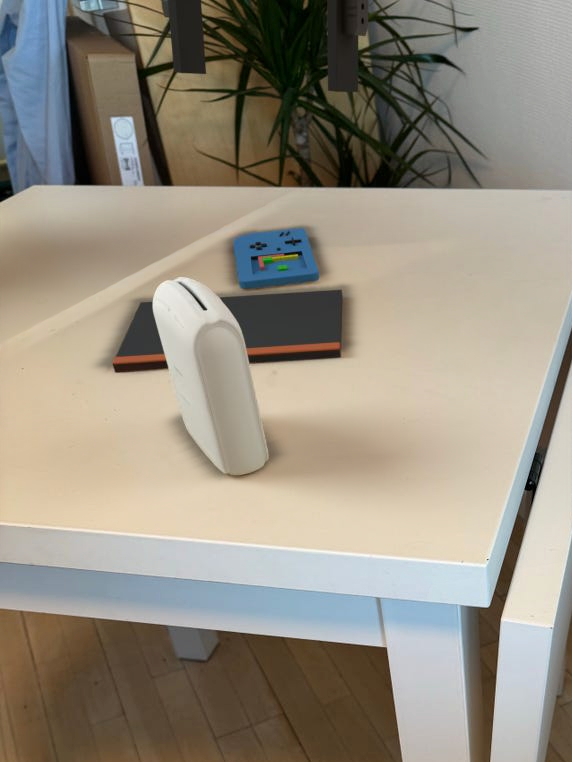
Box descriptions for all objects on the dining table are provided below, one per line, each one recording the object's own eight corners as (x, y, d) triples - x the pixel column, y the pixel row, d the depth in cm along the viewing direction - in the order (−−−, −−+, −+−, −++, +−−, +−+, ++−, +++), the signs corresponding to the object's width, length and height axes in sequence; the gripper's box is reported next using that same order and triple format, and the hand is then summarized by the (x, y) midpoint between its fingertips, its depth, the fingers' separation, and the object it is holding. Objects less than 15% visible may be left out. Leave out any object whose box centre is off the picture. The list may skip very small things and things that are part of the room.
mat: (114, 372, 80) (111, 362, 80) (142, 309, 90) (140, 301, 90) (340, 357, 81) (339, 347, 81) (342, 297, 92) (341, 288, 91)
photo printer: (178, 427, 72) (135, 270, 64) (229, 412, 74) (193, 257, 66) (223, 484, 66) (181, 318, 58) (278, 467, 68) (245, 303, 59)
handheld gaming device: (303, 224, 105) (318, 269, 94) (305, 234, 105) (320, 280, 95) (231, 232, 103) (238, 279, 93) (233, 242, 104) (240, 290, 93)
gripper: (459, -317, 53) (438, 100, 65) (133, -301, 61) (166, 67, 73) (395, -369, 48) (385, 99, 59) (44, -343, 56) (95, 64, 67)
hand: (264, 82), depth 66 cm, fingers open, 13 cm apart
